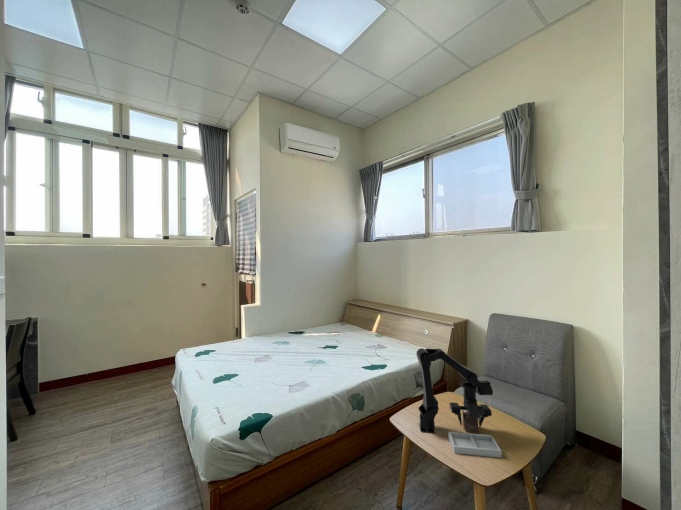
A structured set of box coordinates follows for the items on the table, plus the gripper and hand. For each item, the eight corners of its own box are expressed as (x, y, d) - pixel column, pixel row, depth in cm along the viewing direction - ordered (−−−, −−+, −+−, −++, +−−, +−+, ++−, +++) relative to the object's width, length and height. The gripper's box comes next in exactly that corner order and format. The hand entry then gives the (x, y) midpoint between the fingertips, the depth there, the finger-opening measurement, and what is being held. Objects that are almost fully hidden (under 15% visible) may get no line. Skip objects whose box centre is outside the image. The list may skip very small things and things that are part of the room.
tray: (454, 453, 120) (454, 446, 120) (448, 437, 130) (448, 431, 130) (501, 457, 117) (501, 451, 117) (491, 441, 127) (491, 435, 127)
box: (478, 433, 133) (478, 418, 133) (465, 431, 134) (465, 416, 135) (475, 425, 139) (474, 411, 139) (462, 424, 140) (462, 410, 140)
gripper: (454, 401, 130) (455, 434, 130) (496, 404, 128) (496, 437, 127) (449, 390, 142) (449, 420, 141) (487, 393, 139) (487, 423, 138)
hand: (470, 425), depth 137 cm, fingers open, 9 cm apart
